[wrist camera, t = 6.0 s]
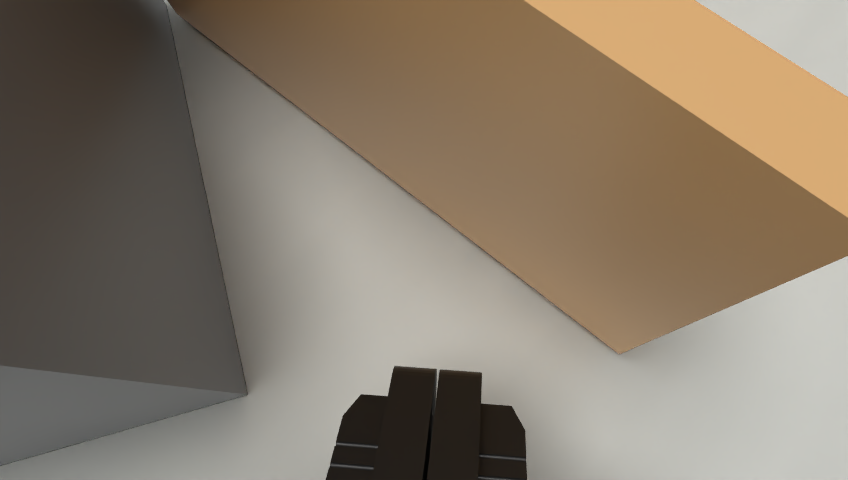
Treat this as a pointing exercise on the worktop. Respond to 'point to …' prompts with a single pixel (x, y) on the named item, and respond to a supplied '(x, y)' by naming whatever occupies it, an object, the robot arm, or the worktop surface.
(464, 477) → the robot arm
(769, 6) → the worktop surface
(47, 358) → the grey matte box
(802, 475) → the worktop surface
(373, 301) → the worktop surface
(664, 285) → the side door
